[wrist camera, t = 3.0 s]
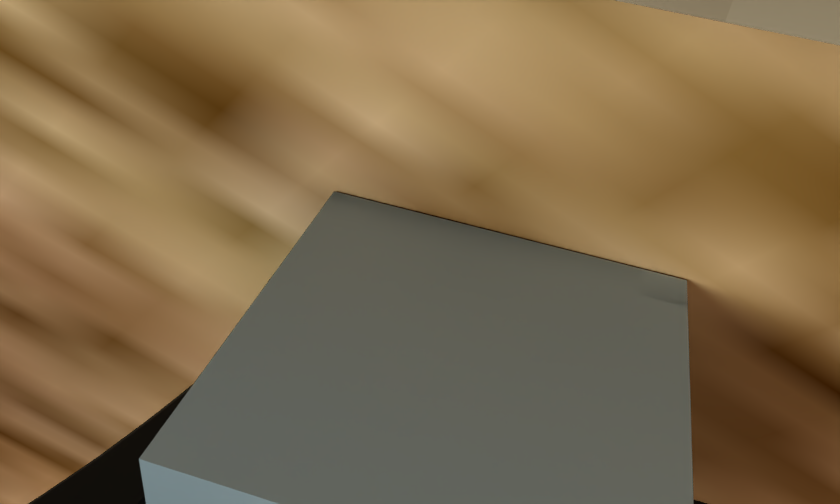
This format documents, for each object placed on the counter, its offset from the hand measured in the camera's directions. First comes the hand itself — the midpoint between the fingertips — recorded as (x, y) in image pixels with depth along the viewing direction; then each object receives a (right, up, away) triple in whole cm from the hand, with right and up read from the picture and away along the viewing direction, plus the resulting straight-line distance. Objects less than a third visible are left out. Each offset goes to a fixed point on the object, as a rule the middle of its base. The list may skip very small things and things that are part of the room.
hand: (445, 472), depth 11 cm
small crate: (0, +1, +1) cm, 1 cm away
